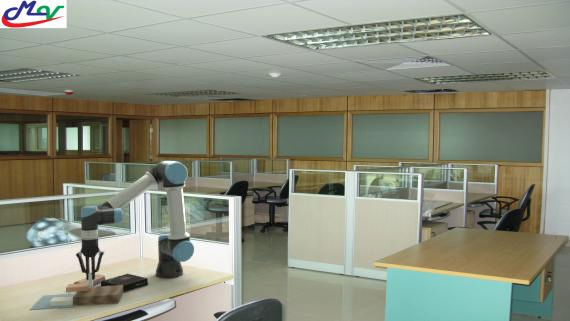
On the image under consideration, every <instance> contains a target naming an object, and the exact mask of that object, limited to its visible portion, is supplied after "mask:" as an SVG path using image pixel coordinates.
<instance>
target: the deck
mask: <svg viewBox="0 0 570 321" xmlns="http://www.w3.org/2000/svg"><path fill="white" fill-rule="evenodd" d="M74 294H75V295H74V297H73V307H76V306H92V305H93V304H94V305H106V304H107V305H108V304H110V305H111V304H119V303H120V301H121V299H122V296H123V294H124V293H123V285H117V286H99V287H91V288H90V289H89V290H88V291H80V292H75V293H74Z"/></svg>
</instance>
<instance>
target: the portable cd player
mask: <svg viewBox="0 0 570 321" xmlns="http://www.w3.org/2000/svg"><path fill="white" fill-rule="evenodd" d="M117 285H123V294H125V293H127V292H130V291H132V290H136V289H139V288H142V287H146V286H148V285H149V278H148V277H144V276H139V275H135V274H131V273H125V274H122V275H118V276H114V277H110V278H107V279H105V280H103V281H101V286H117Z"/></svg>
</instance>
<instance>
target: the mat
mask: <svg viewBox="0 0 570 321" xmlns="http://www.w3.org/2000/svg"><path fill="white" fill-rule="evenodd" d="M75 294H76V293H61V294H60V293H59V294H46V295H44V294H43V295H42V296H41V297H40V298H39V299H38V300H37V301H36V302H35V304H33V305H32V306H31V307H30V308H29V311H35V310H36V311H38V310H51V309H67V308H73V307H74V306H73V305H63V306H50V300H51V299H52V298H53V297H69V296H74V295H75Z"/></svg>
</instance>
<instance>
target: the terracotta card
mask: <svg viewBox="0 0 570 321" xmlns="http://www.w3.org/2000/svg"><path fill="white" fill-rule="evenodd" d="M90 288H91V287H89V283H80V284H74V283H69V284H68V285H67V286H66V287H65V293H77V292H80V291H88V290H89V289H90Z"/></svg>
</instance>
